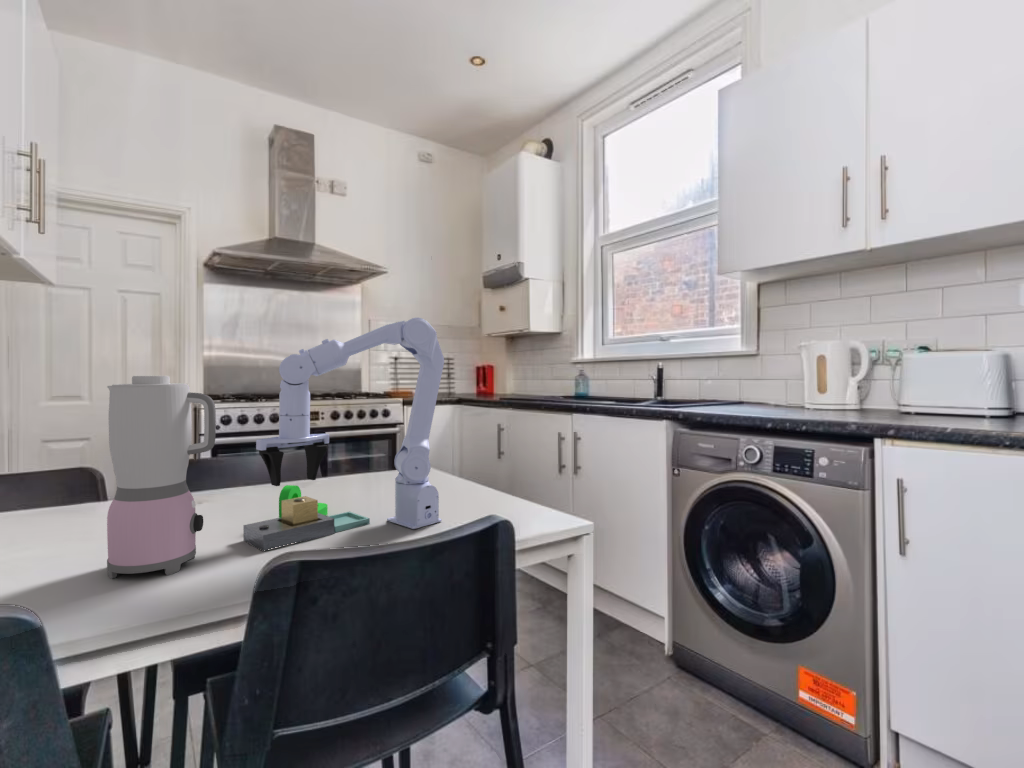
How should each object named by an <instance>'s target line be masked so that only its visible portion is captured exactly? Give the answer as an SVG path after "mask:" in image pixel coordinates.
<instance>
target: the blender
mask: <svg viewBox="0 0 1024 768" xmlns="http://www.w3.org/2000/svg"><path fill="white" fill-rule="evenodd" d="M131 377H132V378H131V383H113V384H112V385H107V386H106V388H107V389H108V390H109V398H108V399H109V403H108V444H109V453H110V457H111V463H112V468H113V472H114V476H115V481H116V491H115V495H114V498H113V499H112V501H111V503H110V504H109V508H108V511H107V517H106V519H107V520H106V521H107V522H106V527H107V528H106V531H107V533H106V534H107V536H106V538H107V539H106V540H107V560H106V570H107V575H108V577H109V579H115V578H117V575H118V574H125V575H126V574H143V573H149V572H155V571H161V570H164V575H166V576H170V575H172V574H176V573H178V572H179V571H181V567H182V566H181V565H182V564H184V563H185V562H187V561H190V560H192V559H195V557H196V554H197V544H196V543H197V542H196V540H197V539H196V538H197V537H196V533H197V532H200V531H202V530H203V528H204V517H203V514H198V513H197V512H196V505H197V504H196V501H195V498H194V496H193V494H192V493H191V491H190V489H189V487H188V484H187V471H188V467H189V463H190V462H189V460H190V457H191V455H195V454H196V455H197V454H201V453H205V452H209V451H210V450H212V449H213V448H214V447H215V444H216V434H217V433H216V428H217V423H216V420H217V417H216V411H217V410H216V403H215V401H214V400H213V399H212V397H211V396H209V395H207V394H206V393H205V394H204V393H200V392H191V388H190V385H189V384H188V383H179V382H178V383H176V382H175V383H173V382H172V383H171V378H170V375H132V376H131ZM192 403H193V404H200V405H202V406H203V415H204V416H203V417H204V418H203V419H204V420H203V421H204V422H203V423H204V425H203V427H204V429H203V432H204V433H203V441H202V442H198V443H194V444H192V441H193V440H192V439H193V436H192V434H193V433H192V431H193V429H192V427H193V426H192V425H193V424H192V420H193V419H192Z"/></svg>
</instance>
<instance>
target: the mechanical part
mask: <svg viewBox="0 0 1024 768" xmlns="http://www.w3.org/2000/svg"><path fill="white" fill-rule="evenodd" d="M298 497H302V490H301V487H299V486H298V485H294V484H293V485H291V484H290V485H288V484H286V485H284V486H283V487H282V488H281V491H280V493H279V497H278V518H280V517H282V500H287V499H293V498H298ZM328 509H329V507H328V504H327V503H325V502H318V513H320V514H323V515H325V516H328V513H329V511H328Z"/></svg>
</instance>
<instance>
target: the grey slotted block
mask: <svg viewBox="0 0 1024 768" xmlns="http://www.w3.org/2000/svg"><path fill="white" fill-rule="evenodd" d="M328 516H329V515H326V516H325V515H323V514H320V513H318V521H314V522H310V523H306V524H301V525H297V526H292V527H291V526H288V525H286V524H284V523H282V517H280V518H279V517H277V518H271V519H267V520H263V521H257V522H252V523H247V524H243V529H242V530H243V542H245V541H246V542H245V543H247V542H248V544H249V545H251V546H252V545H253V546H252V547H254V546H255V547H254V548H256V547H257V548H256V549H258V548H259V549H258V550H260V549H261V550H263V551H264V550H268V549H271V548H275V547H279V546H283V545H287V544H291V543H295V542H299V543H301V542H300V541H303V542H307V541H311V540H315V539H317V538H318V539H319V538H323V537H327V536H330V535H335V532H334V519H333V518H331V517H328ZM306 540H307V541H306ZM295 544H296V543H295ZM261 550H260V551H261ZM263 551H262V552H263ZM268 551H269V550H268ZM264 552H265V551H264Z"/></svg>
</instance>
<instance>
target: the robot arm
mask: <svg viewBox="0 0 1024 768" xmlns="http://www.w3.org/2000/svg"><path fill="white" fill-rule="evenodd" d="M383 344H386V345H393V346H396V345H400V346H401V348H404V349H405V350H406V351H408V352H409V353H411V355H412V356H413V357H414V359H415V360H416V361H417V362H418V364H419V371H418V374H417V381H416V385H415V388H414V389H415V391H414V393H413V399H412V404H411V410H410V415H409V418H408V419H409V420H408V424H407V428H406V433H405V436H404V438H403V440H402V444H401V447H400V448H399V450H398V451H397V453H396V454H395V456H394V467H395V469H396V471H397V472H398V474H397V476H396V477H395V478H394V479H395V481H394V488H395V491H394V494H395V495H394V497H395V498H394V499H395V500H394V507H395V509H394V515H395V516H391V517H387V518H386V521H387V522H390V523H394V524H396V525H399V526H402V527H405V528H409V529H412V530H415V529H419V528H423V527H425V526H430V525H433V524H436V523H441V522H442V518H440V517H439V512H440V511H439V510H440V509H439V503H440V502H439V498H440V497H439V491H438V489H437V487H436V486H434V485H433V484H431V483H430V480H429V479H430V477H429V475H430V472H431V462H430V461H431V460H430V451H431V448H430V440H429V439H430V434H431V430H432V429H431V428H432V424H433V419H434V414H435V409H436V404H437V399H438V394H439V389H440V385H441V379H442V376H443V370H444V365H445V357H444V355H443V352H442V349H441V345H440V343H439V339H438V333H437V330H436V329H435V328H434V327H433V326H432V324H430V322H429V321H427V320H426V319H424V318H422V317H412V318H411V319H408V320H407V321H406V320H401V321H398V322H394V323H389V324H385V325H383V326H380V327H378V328H375V329H373V330H371V331H368V332H366V333H363V334H361V335H358V336H357V337H354V338H352V339H350V340H347V341H345V342H342V341H340V340H336V339H332V340H329V339H328V338H325V339H323V340H321V344H318V345H316V346H313V347H310V348H308V349H304V348H301V349H299V350H298V353H299V354H297V353H292V354H290V355H288V356H287V357H285V358H284V359H283V360H281V362H280V364H279V368H278V372H279V375H280V377H281V378H282V379H281V380H280V384H279V388H280V392H279V397H278V398H279V400H278V401H279V407H278V409H279V412H278V415H279V419H278V428H279V429H278V436H274V437H268V438H266V437H265V438H260V439H258V438H257V439H256V440H255V444H256V445H255V448H256V451H257V450H258V453H259V456H260V457H261V458H262V460H263V461H262V462H264V464H265V467H266V470H267V472H268V476H269V480H270V484H271V486H273V487H280V486H281V481H282V475H281V471H282V463H283V459H284V455H285V453H284V452H283V451H280V449H284V448H292V447H301V446H303V448H304V452H305V458H306V478H307V480H311V481H316V480H317V475H318V471H319V468H320V464H321V463H322V461H323V458H324V456H325V455H326V453H327V451H328V447H329V446H328V445H327V444H330V434H329V433H311V392H310V389H309V388H310V381H309V379H310V378H311V377H312V376H315V377H319V376H322V375H324V374H327V373H329V372H332V371H334V370H336V369H339V368H341V367H344V366H346V365H347V363H348V360H349V358H350V357H351V356H354V355H356V354H360V353H361V352H365V351H367V350H370V349H373V348H375V347H378V346H380V345H383Z"/></svg>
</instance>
